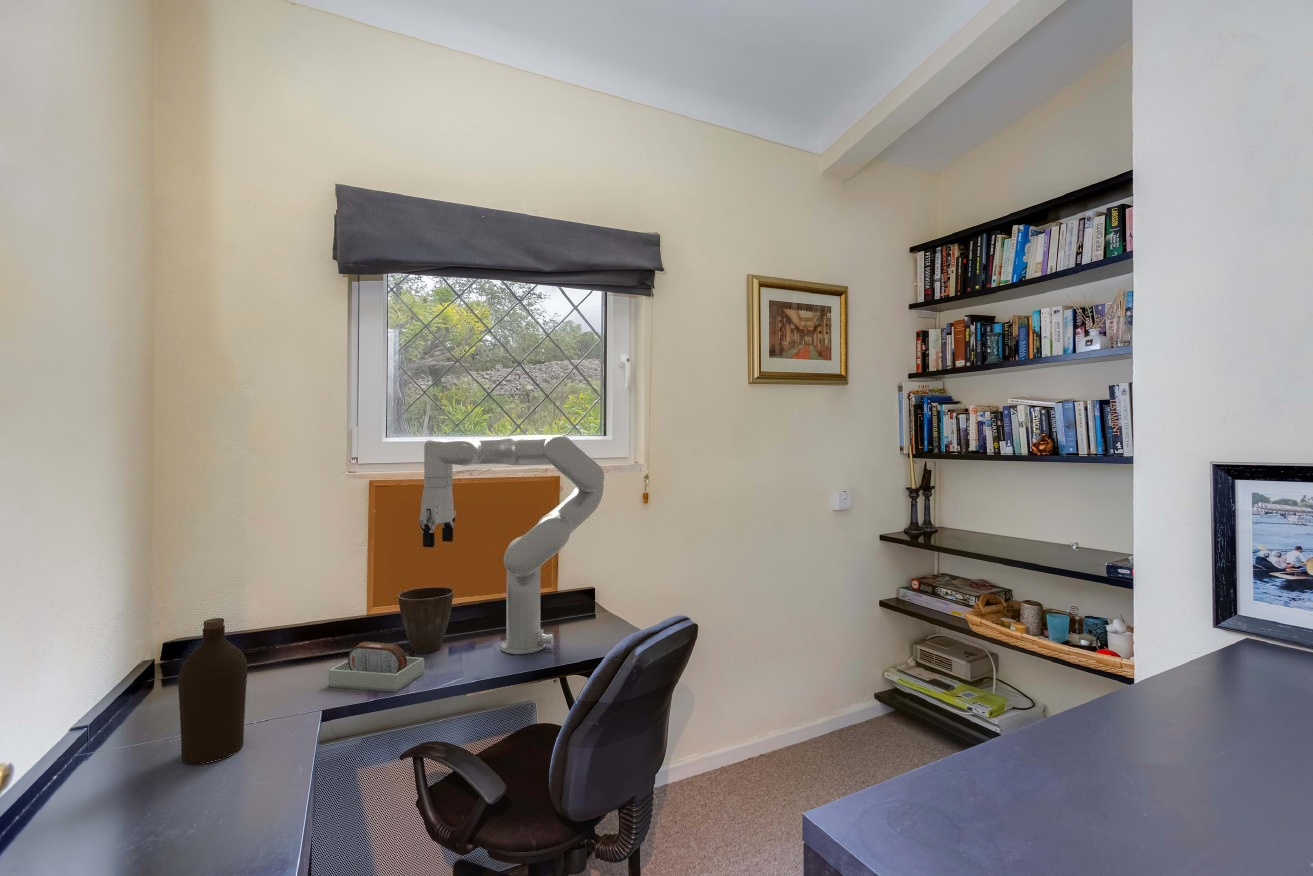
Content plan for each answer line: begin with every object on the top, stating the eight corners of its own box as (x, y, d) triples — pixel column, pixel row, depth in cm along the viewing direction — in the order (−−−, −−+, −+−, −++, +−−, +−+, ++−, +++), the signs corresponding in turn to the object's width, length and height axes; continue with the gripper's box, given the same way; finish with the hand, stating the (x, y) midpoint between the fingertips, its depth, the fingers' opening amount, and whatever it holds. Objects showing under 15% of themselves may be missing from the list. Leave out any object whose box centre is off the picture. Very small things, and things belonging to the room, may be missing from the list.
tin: (407, 677, 148) (407, 643, 148) (399, 682, 145) (399, 647, 145) (354, 673, 151) (354, 639, 151) (345, 678, 148) (345, 643, 148)
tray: (423, 673, 152) (423, 658, 152) (395, 692, 141) (395, 675, 141) (360, 669, 156) (360, 653, 156) (328, 686, 144) (328, 670, 144)
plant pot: (385, 654, 167) (385, 596, 167) (425, 638, 181) (425, 584, 181) (427, 661, 161) (427, 601, 162) (464, 644, 175) (464, 589, 175)
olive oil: (204, 771, 107) (205, 631, 107) (163, 762, 110) (163, 625, 110) (260, 743, 117) (261, 614, 117) (220, 735, 120) (221, 610, 120)
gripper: (442, 481, 178) (442, 539, 178) (408, 485, 161) (408, 549, 161) (466, 481, 177) (466, 539, 176) (433, 485, 160) (433, 549, 159)
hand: (438, 544), depth 169 cm, fingers open, 9 cm apart
